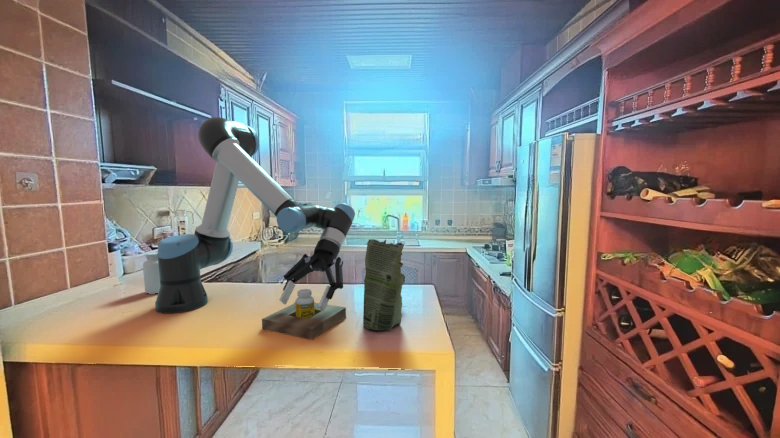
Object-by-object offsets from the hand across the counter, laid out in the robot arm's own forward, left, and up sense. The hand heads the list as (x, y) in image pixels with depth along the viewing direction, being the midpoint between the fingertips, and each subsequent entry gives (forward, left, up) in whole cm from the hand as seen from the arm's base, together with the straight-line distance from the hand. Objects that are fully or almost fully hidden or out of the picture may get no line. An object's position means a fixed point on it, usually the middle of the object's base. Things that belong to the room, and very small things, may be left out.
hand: (301, 305), depth 99 cm
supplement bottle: (0, +2, -6) cm, 6 cm away
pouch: (+22, +9, -6) cm, 24 cm away
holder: (0, +2, -6) cm, 6 cm away
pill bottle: (-72, +5, -6) cm, 73 cm away
